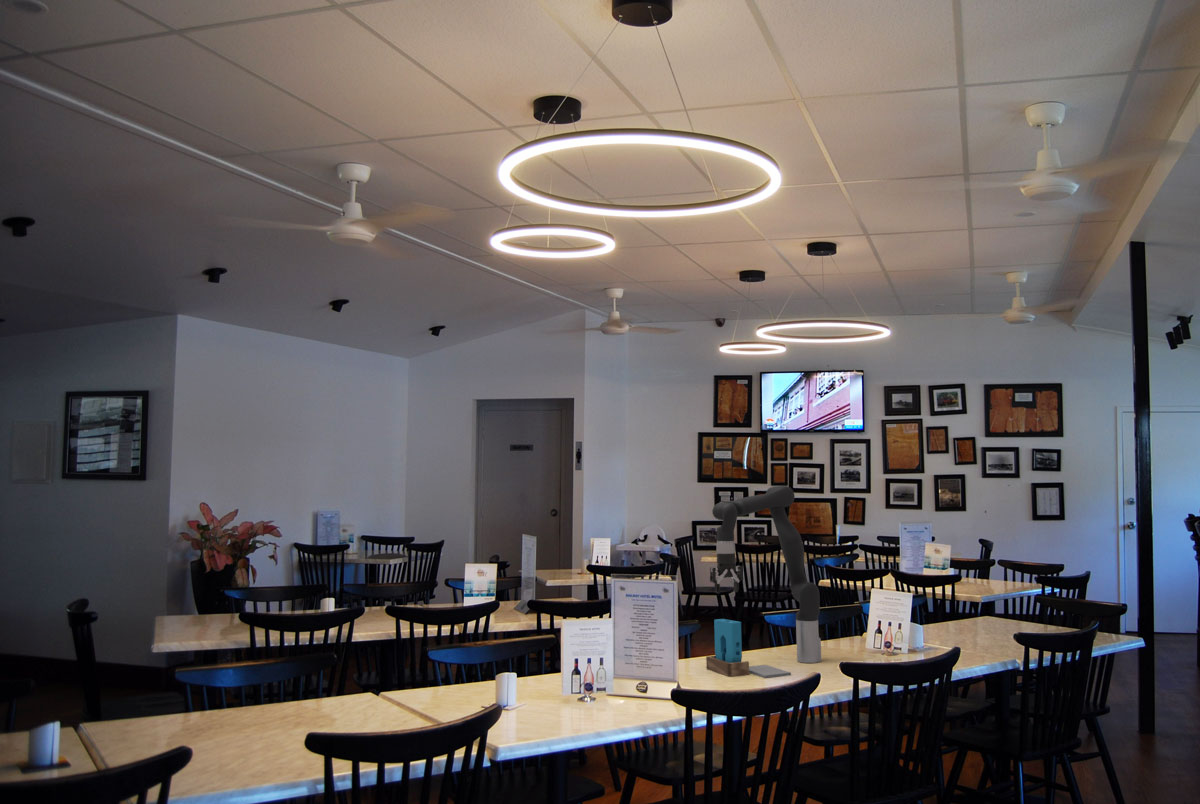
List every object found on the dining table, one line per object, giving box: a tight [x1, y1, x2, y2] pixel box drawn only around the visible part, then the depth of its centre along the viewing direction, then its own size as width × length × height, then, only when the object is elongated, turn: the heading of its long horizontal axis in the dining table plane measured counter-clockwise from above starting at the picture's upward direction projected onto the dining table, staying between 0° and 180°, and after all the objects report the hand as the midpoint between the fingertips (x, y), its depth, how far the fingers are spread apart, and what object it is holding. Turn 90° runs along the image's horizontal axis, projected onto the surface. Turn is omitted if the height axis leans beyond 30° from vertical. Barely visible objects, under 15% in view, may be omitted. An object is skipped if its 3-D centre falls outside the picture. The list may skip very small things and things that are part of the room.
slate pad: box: [749, 664, 792, 679], centre depth 362 cm, size 12×18×1 cm, turn 24°
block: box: [713, 618, 743, 663], centre depth 365 cm, size 12×5×20 cm, turn 32°
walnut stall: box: [705, 655, 750, 678], centre depth 364 cm, size 9×17×5 cm, turn 24°
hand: (726, 592), depth 367 cm, fingers open, 8 cm apart
